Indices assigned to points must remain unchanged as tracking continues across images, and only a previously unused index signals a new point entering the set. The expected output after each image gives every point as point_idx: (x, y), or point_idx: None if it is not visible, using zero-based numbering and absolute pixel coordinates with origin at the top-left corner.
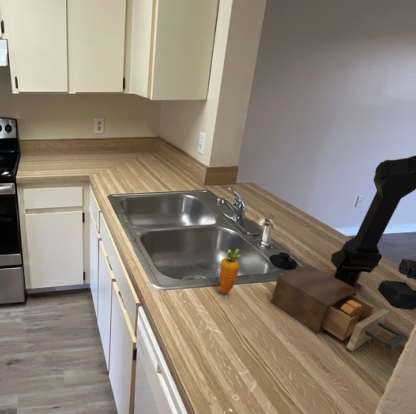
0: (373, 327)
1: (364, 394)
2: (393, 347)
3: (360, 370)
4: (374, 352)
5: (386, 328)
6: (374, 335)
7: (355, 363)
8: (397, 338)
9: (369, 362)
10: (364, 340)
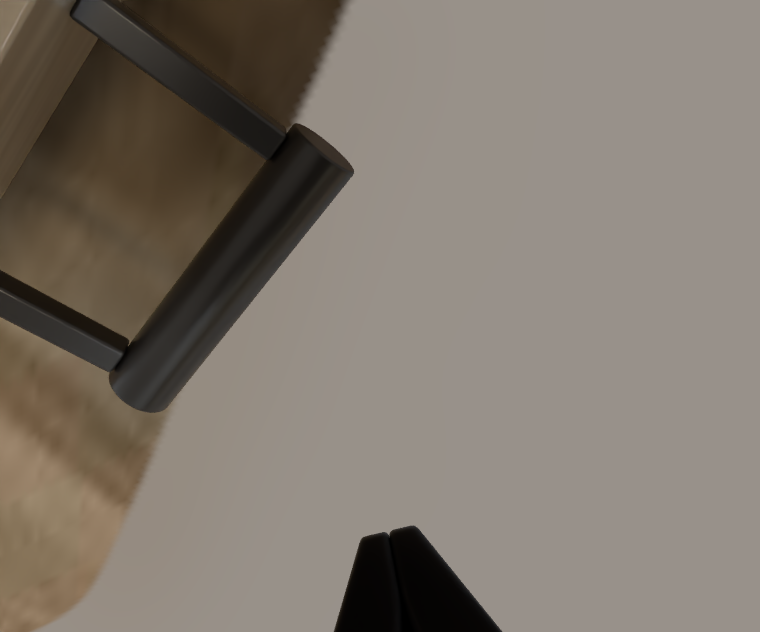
0: (14, 115)
1: (63, 545)
2: (179, 390)
3: (42, 390)
4: (150, 150)
5: (160, 77)
6: (11, 304)
7: (8, 342)
8: (228, 280)
9: (104, 287)
10: (20, 152)
